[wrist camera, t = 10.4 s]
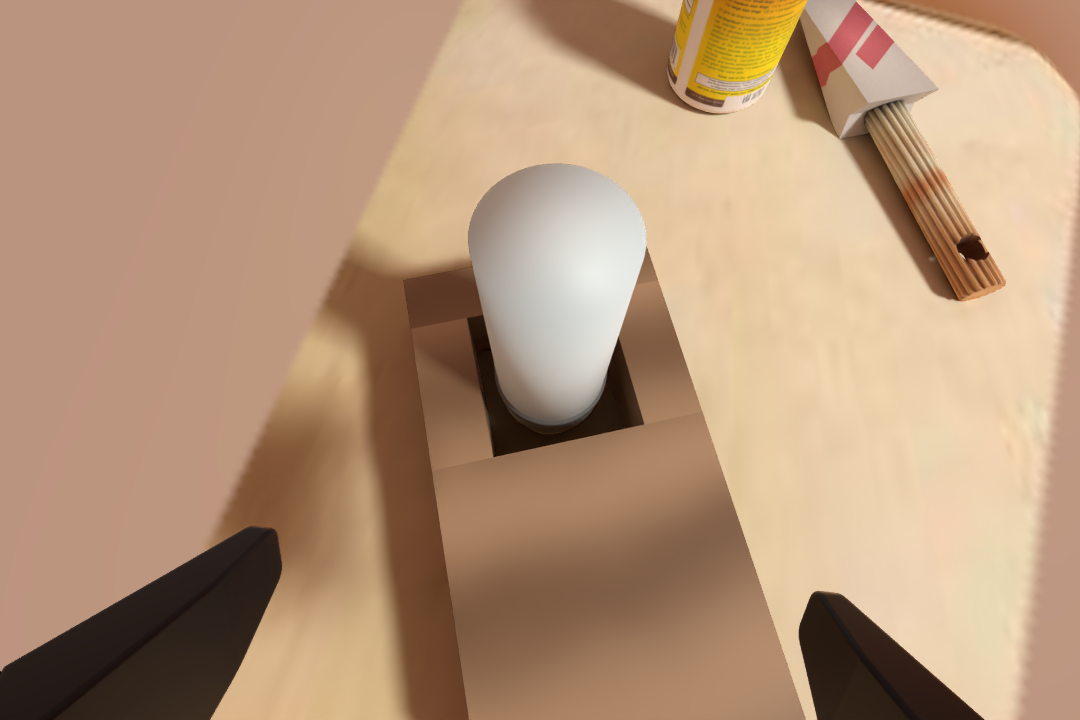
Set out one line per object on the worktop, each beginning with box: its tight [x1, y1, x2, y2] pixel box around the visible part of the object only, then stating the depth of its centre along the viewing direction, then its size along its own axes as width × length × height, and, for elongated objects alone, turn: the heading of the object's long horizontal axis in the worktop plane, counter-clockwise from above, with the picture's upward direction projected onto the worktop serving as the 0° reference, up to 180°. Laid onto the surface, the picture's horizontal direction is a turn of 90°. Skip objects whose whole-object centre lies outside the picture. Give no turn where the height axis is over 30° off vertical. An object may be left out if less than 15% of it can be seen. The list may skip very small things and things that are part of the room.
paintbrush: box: [800, 0, 1006, 301], centre depth 28 cm, size 4×3×20 cm
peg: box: [468, 164, 646, 434], centre depth 18 cm, size 4×4×12 cm
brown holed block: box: [403, 246, 806, 720], centre depth 21 cm, size 18×10×4 cm, turn 12°
